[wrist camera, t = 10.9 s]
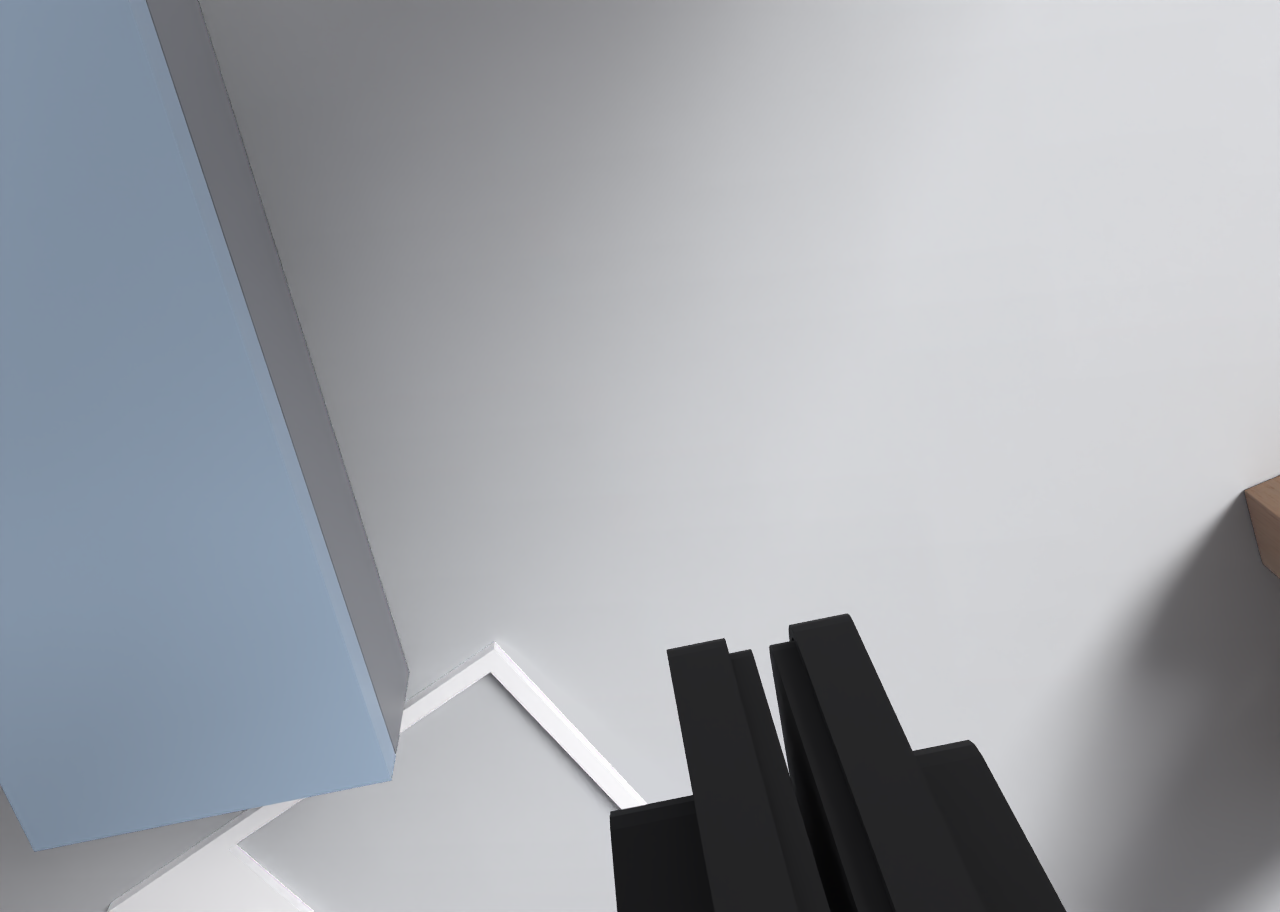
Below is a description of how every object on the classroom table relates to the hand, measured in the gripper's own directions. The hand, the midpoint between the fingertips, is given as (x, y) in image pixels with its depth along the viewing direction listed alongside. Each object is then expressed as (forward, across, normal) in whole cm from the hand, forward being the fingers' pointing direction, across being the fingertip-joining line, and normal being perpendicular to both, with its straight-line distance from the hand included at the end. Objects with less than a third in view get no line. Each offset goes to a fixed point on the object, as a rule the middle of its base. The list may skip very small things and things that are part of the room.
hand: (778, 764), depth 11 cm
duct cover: (+23, +16, +2) cm, 28 cm away
